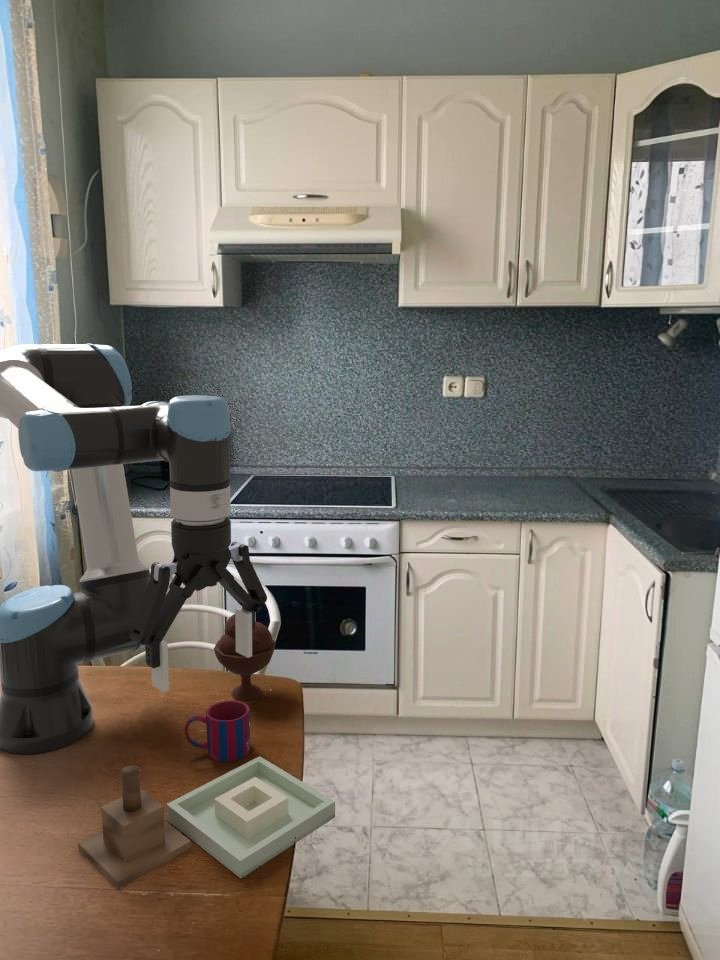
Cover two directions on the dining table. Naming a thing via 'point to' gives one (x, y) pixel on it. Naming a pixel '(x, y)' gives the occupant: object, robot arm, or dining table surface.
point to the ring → (257, 819)
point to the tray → (226, 843)
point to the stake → (132, 835)
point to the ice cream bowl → (241, 664)
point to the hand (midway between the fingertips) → (204, 670)
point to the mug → (225, 731)
